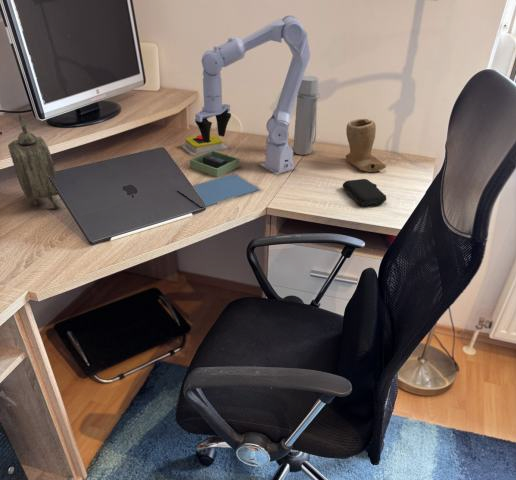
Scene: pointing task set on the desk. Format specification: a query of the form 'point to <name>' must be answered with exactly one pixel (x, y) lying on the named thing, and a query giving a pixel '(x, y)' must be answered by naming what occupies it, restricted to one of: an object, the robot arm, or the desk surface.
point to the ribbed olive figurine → (33, 165)
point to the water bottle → (306, 115)
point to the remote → (214, 161)
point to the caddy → (198, 165)
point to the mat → (223, 189)
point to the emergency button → (203, 144)
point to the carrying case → (364, 192)
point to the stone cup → (362, 145)
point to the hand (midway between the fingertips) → (214, 138)
